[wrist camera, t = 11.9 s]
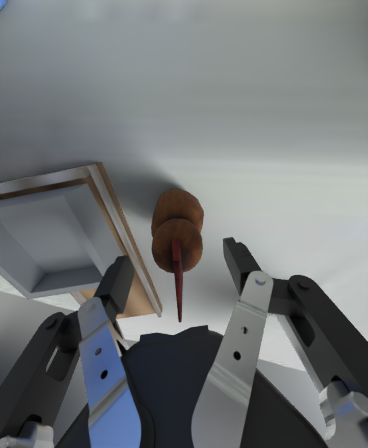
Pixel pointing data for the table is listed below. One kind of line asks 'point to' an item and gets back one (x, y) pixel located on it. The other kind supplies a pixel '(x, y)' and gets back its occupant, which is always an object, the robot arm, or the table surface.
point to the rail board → (105, 197)
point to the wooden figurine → (177, 236)
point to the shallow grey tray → (55, 242)
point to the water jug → (2, 3)
